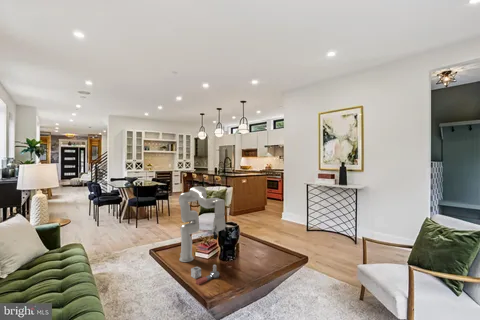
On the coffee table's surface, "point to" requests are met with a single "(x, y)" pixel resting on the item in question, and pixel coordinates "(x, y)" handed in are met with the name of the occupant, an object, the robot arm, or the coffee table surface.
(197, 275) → the socket
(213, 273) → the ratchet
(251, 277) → the coffee table surface
